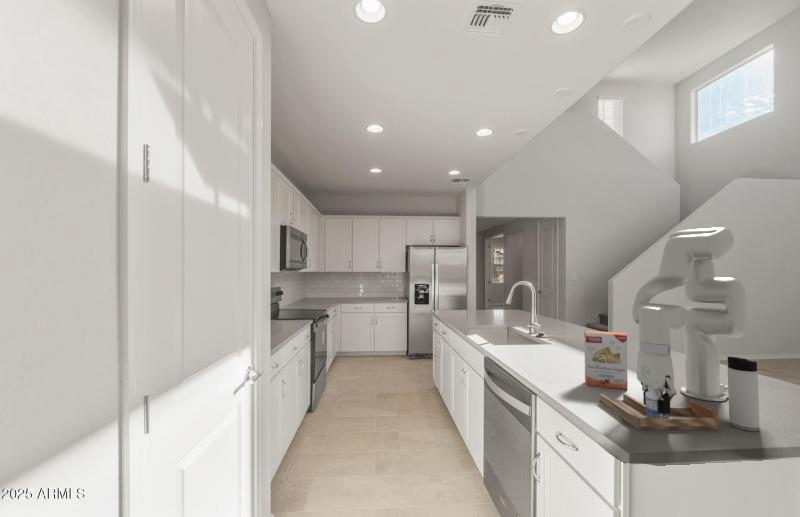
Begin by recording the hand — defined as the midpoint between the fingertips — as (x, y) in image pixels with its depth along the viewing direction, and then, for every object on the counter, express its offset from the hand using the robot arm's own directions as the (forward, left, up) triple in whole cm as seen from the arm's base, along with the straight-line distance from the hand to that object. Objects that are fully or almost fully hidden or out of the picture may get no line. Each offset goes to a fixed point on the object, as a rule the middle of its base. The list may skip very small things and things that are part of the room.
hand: (656, 408), depth 105 cm
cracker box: (-3, -32, -4) cm, 33 cm away
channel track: (-2, -5, -4) cm, 7 cm away
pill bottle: (0, 0, -3) cm, 3 cm away
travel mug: (-23, +3, -4) cm, 23 cm away
